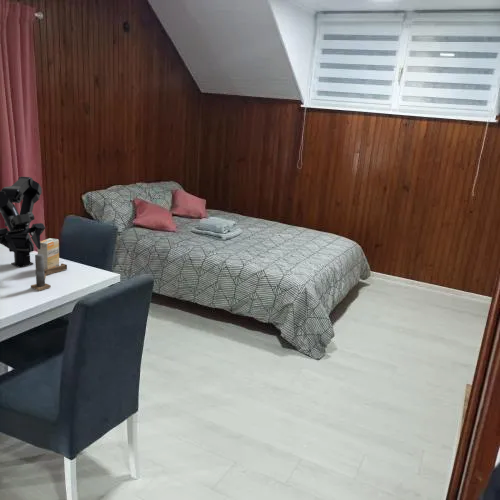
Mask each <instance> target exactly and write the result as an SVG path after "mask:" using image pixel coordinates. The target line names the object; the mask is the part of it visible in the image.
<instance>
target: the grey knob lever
mask: <svg viewBox="0 0 500 500" xmlns="http://www.w3.org/2000/svg"><path fill="white" fill-rule="evenodd" d="M34 259H35V265H34V266H35V284H31V285H30V288H31V289H34V290H36V291H38V292H39V291H42V290H43V291H44V290H46V289H49V288H51V285H50V284H48V283H46V278H47V275H51V274H54V273H58V272H59V273H60V272H62V271H65V270H68V264H66V263H63V262H62V263H60V264H59V266H57V267H53V268H49V269H44V255H43V254H38V253H37V254H35V255H34Z"/></svg>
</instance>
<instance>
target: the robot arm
mask: <svg viewBox="0 0 500 500" xmlns="http://www.w3.org/2000/svg"><path fill="white" fill-rule="evenodd" d="M42 189H43V188H42V187H41V184H40V183H39V182H36V180H34V179H33V177H29V176H19V177H18V179H17V180H16V181H15V182H14V183H13V184H12V185H11V186H5V187H2V188H1V190H0V213H1V214H0V215H1V216H2V218H3V220H4V226H5V227H3V228H0V245H2V246H3V247H5V248H7V249H8V251H9V252H10V253H11V252H12V253H13V256H14V257H13V258H14V261H13V262H11V263H10V264H11V265H13V266H16V267H18V268H24V267H27V266H28V267H29V266H31V265H32V266H33V265H34V262H32V261H31V253H32V252H35V247H36V248H37V250H38V249H40V248H41V247H40V241H41V235H42V234H43V232H44V231H45V229H46V226H45V224H44V223H42V222H39V223H32V221H34V220H35V214H34V213H33V211H34V205H35V203H37V202H38V201H39V200H40V196H41V195H42ZM14 203H15V204H20V203H21V207H20V211H18V209H17V207H16V205H15V204H14ZM31 223H32V225H31V227H30V224H31ZM6 227H7V228H6ZM34 245H35V246H34Z"/></svg>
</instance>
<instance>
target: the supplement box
mask: <svg viewBox="0 0 500 500" xmlns="http://www.w3.org/2000/svg"><path fill="white" fill-rule="evenodd" d="M40 247H41V248H40V249H38V248H37V254H43V255H44V269H49V268H53V267H57V266H60V240H59V239H58V238H50V237H49V238H46V239H44V240H40Z"/></svg>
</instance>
